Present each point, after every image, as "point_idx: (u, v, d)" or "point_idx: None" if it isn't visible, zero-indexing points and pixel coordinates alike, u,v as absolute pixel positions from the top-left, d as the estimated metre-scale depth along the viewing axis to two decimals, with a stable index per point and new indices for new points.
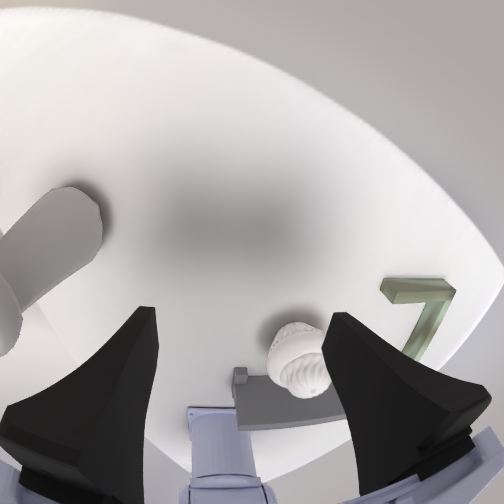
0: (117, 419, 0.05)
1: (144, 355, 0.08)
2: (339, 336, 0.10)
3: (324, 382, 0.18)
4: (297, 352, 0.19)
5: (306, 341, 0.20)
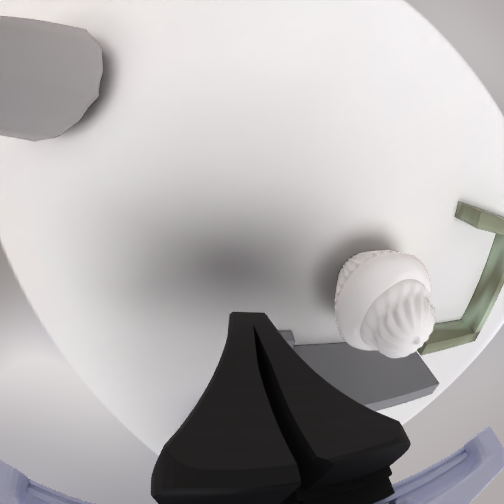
0: None
1: None
2: None
3: (430, 324, 0.11)
4: (390, 278, 0.12)
5: (400, 261, 0.12)
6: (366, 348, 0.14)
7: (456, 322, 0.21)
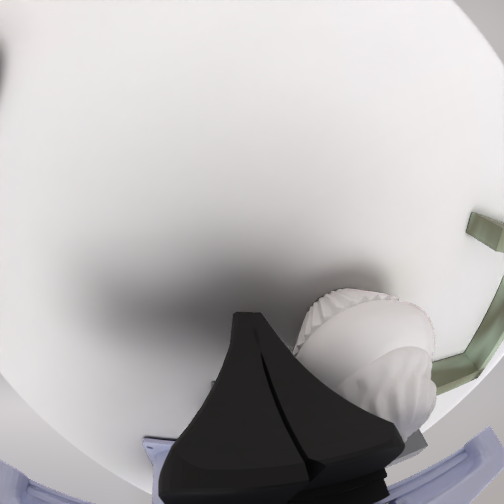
0: None
1: None
2: None
3: (427, 413, 0.06)
4: (371, 349, 0.07)
5: (391, 320, 0.07)
6: None
7: (457, 357, 0.16)
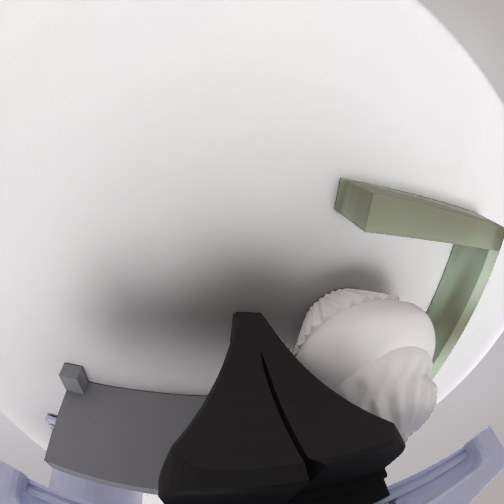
0: None
1: None
2: None
3: (427, 413, 0.06)
4: (372, 349, 0.07)
5: (391, 320, 0.07)
6: None
7: None
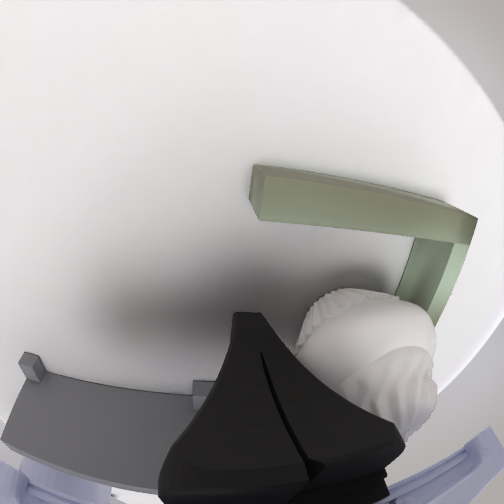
0: None
1: None
2: None
3: (428, 412, 0.06)
4: (372, 349, 0.07)
5: (392, 320, 0.07)
6: None
7: None
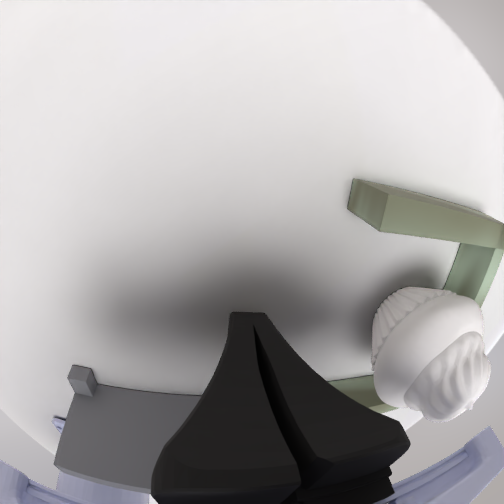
0: None
1: None
2: None
3: (485, 384, 0.07)
4: (449, 334, 0.08)
5: (461, 310, 0.08)
6: (405, 407, 0.09)
7: None
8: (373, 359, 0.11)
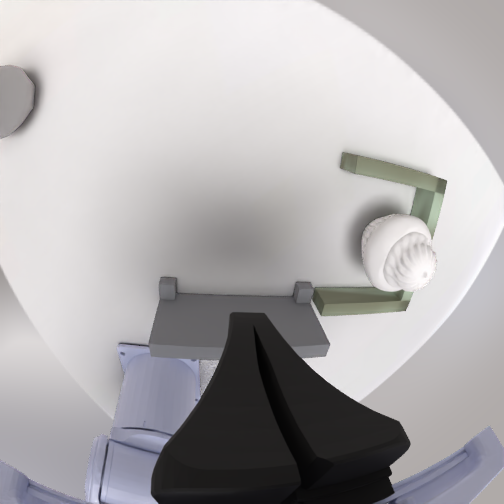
0: None
1: None
2: None
3: (433, 263, 0.15)
4: (402, 230, 0.16)
5: (408, 219, 0.17)
6: (387, 287, 0.18)
7: None
8: (362, 256, 0.19)
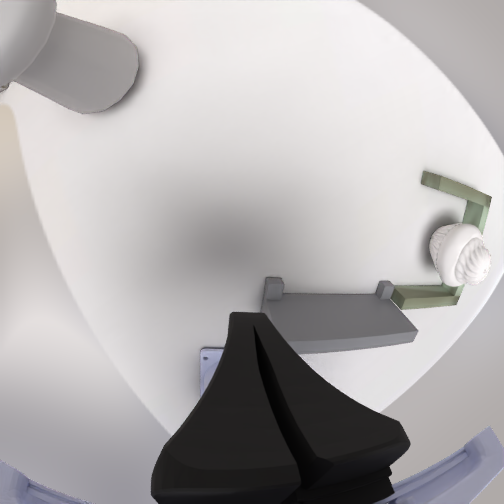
0: None
1: None
2: None
3: (490, 262, 0.17)
4: (468, 236, 0.18)
5: (471, 227, 0.18)
6: (455, 282, 0.19)
7: (436, 286, 0.25)
8: (435, 257, 0.21)
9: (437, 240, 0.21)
